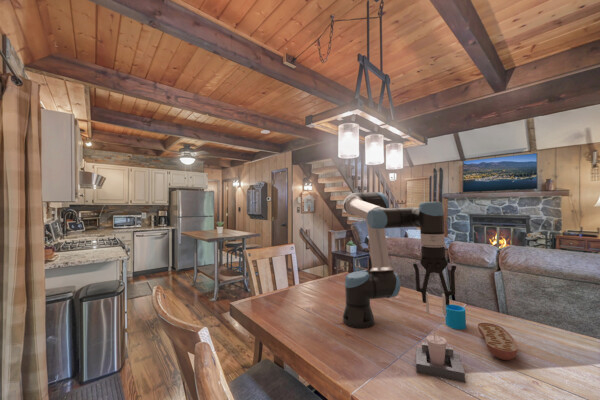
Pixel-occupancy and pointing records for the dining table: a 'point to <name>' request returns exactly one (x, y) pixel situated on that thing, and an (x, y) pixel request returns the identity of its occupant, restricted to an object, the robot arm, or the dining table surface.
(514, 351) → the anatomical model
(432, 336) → the smoothie
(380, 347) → the dining table surface
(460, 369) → the jig
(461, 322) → the mug
